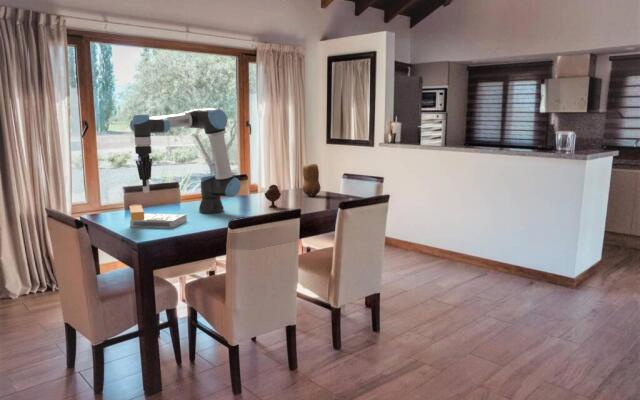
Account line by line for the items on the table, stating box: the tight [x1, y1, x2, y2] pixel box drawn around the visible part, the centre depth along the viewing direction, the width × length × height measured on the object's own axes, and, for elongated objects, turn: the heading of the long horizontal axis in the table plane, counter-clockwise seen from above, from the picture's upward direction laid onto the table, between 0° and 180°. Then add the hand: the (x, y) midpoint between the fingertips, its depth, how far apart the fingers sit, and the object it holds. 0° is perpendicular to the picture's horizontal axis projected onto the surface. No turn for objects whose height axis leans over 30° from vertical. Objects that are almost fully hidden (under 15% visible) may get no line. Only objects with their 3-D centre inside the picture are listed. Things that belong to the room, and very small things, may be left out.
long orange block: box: [129, 204, 145, 221], centre depth 251 cm, size 6×24×4 cm, turn 23°
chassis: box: [129, 212, 188, 229], centre depth 266 cm, size 18×24×7 cm
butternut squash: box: [302, 163, 322, 197], centre depth 366 cm, size 14×13×25 cm
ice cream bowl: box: [264, 184, 282, 209], centre depth 318 cm, size 11×11×15 cm
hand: (146, 192), depth 244 cm, fingers closed
